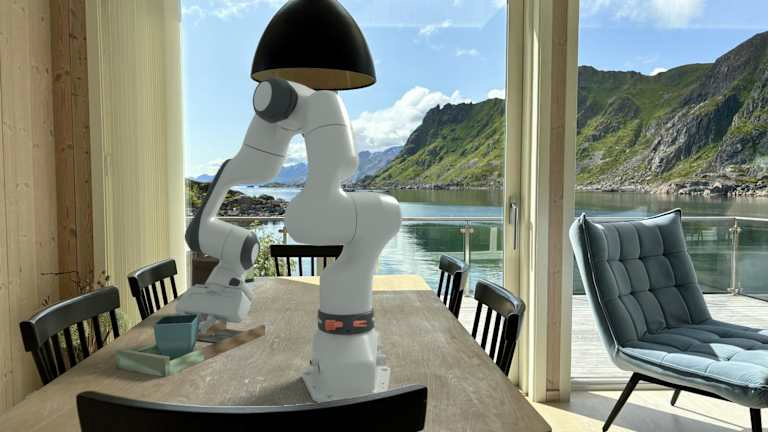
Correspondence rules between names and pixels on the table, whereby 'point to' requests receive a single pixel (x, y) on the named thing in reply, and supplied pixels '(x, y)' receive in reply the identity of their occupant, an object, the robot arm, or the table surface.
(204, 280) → the wooden container
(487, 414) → the table surface
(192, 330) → the flower pot
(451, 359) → the table surface
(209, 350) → the channel
